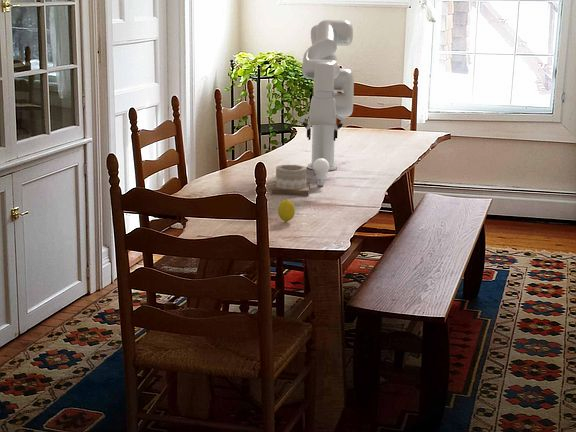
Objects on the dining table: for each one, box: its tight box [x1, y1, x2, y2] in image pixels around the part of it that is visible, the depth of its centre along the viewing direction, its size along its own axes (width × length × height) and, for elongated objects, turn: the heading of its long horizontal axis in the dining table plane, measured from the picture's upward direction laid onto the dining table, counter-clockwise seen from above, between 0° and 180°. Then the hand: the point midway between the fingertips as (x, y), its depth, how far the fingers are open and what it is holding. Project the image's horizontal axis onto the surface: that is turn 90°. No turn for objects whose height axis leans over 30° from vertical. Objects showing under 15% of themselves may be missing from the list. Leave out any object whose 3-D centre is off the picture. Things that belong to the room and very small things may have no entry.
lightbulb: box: [312, 158, 330, 187], centre depth 359 cm, size 6×6×11 cm
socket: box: [270, 164, 311, 197], centre depth 350 cm, size 14×14×9 cm
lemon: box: [277, 198, 296, 223], centre depth 307 cm, size 6×6×8 cm
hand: (321, 139), depth 356 cm, fingers open, 9 cm apart
